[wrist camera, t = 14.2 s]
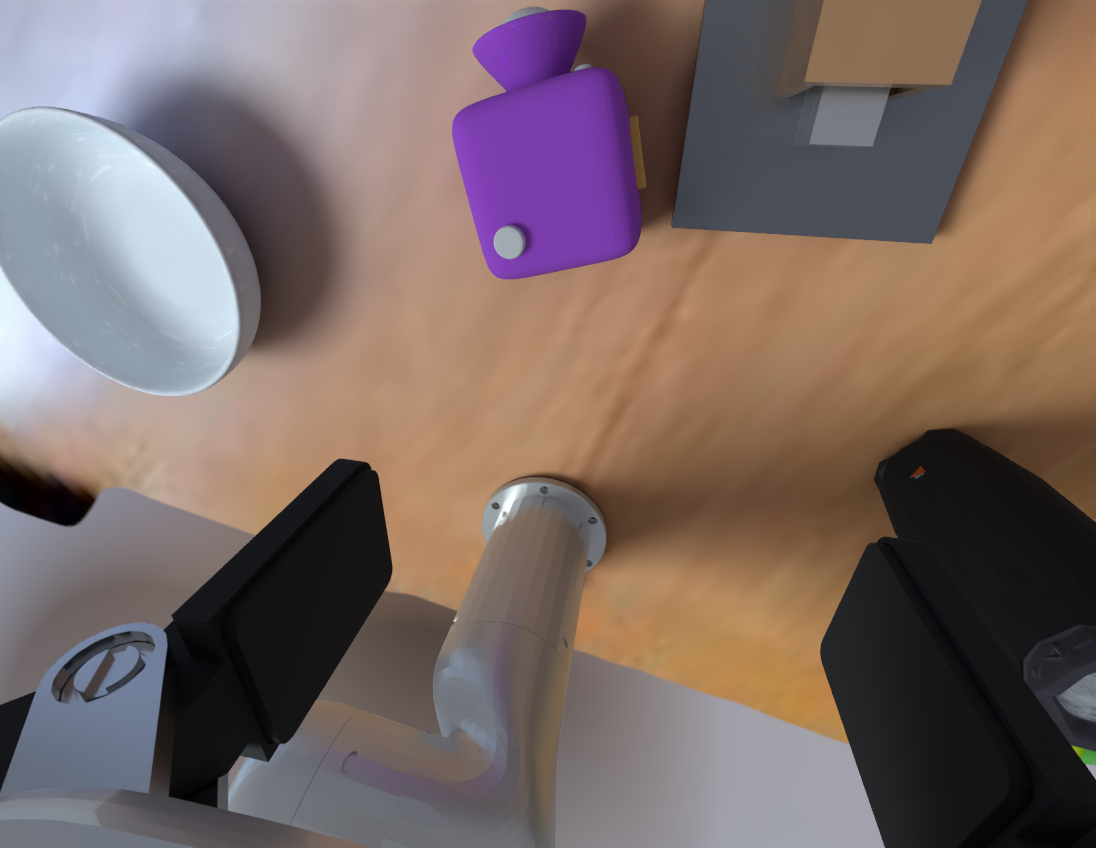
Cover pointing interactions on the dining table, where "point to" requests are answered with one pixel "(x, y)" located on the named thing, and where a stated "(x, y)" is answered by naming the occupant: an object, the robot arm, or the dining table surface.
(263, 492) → the dining table surface
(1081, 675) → the portable speaker
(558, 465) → the dining table surface
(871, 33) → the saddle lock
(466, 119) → the toy camera
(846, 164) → the plate
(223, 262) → the serving bowl
